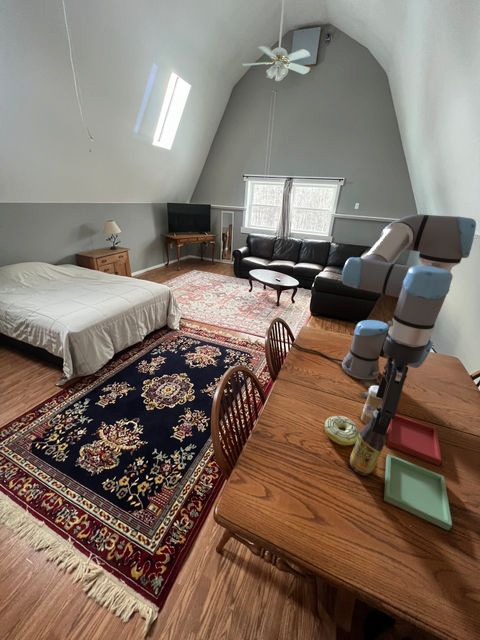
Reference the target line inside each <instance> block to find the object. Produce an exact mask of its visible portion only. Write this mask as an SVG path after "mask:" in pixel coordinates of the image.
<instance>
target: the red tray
mask: <svg viewBox="0 0 480 640" xmlns="http://www.w3.org/2000/svg"><path fill="white" fill-rule="evenodd" d="M439 442H440V441H439V436H438V430H437V427H434V426H431V425H428V424H426V423H423V422H419V421H417V420H414V419H410V418H408V417H405V416H402V415H399V414H396V413H395V418H394V419H391V421H390V424H389V426H388V429H387V432H386V446H389V447H391V448H393V449H396V450H399V451H401V452H403V453H406V454H409V455H411V456H414V457H416V458H419V459H421V460H424V461H426V462H428V463H432V464H433V465H436V466H440V464H441V462H442V454H441V449H440V448H441V447H440V443H439Z"/></svg>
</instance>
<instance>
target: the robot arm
mask: <svg viewBox="0 0 480 640" xmlns="http://www.w3.org/2000/svg"><path fill="white" fill-rule="evenodd" d="M476 228H477V221H476V220H475V219H474V218H472V217H464V216H459V215H457V216H455V215H436V214H435V215H434V214H423V213H422V214H421V213H418V214H410V215H406V216H403V217H400V218H398V219H396V220H394V221H392V222H390V223H389V224H387V226H385V227H384V229H383V230H382V231H381V233H380V235H379V239H378V240H377V241H376V242H375V243H374V245H373V246H372V247H371V248H370V250H368V252H366V254H365V255H364V256H363V257H349V258H347V260H346V262H345V264H344V266H343V268H342V273H341V283H342V284H343V285H344V286H347V287H351V288H354V289H355V290H356V289H359V290H363V291H366V292H367V291H368V292H372V293H378V294H381V295H386V296H390V297H395V298H398V300H397V303H396V307H395V310H394V313H393V316H392V320H388V321H387V323H385V322H384V321H381V320H377V319H366V320H365V319H364V320H361V321H359V322H358V323H357V324H356V325H355V329H354V331H353V335H352V341H351V345H350V349H349V352H348V353H347V354H346V356H345V357H344V358H343V359H339V358H334V357H331V356H328V355H326V354H325V353H322V352H320V351H318V350H315V349H310V348H305V347H301V346H300V345H298V344H297V343H295V342H292V343H290V345H291V346H293V345H294V346H296V348H298V349H300V350H303V351H308V352H312V353H316V354H319V355H321V356H323V357H325V358H326V359H329V360H331V361H336V362H340V363H341V369H342V371H343V372H344V373H345V374H346V375H347V376H349V377H350V378H353V379H356V380H359V381H362V380H364V379H372V380H373V381H375V380H376V381H377V378H378V379H379V376H380V361H379V359H380V358H383V359H386V362H385V364H384V366H383V372H382V376H381V379H380V381H381V382H380V381H379V382H380V385H379V388H378V391H377V394H376V397H378V398H381V399H383V400H382V402H381V406H380V408H377V409H376V410H377V411H378V413H377V416H376V419H375V422H374V425H373V428H372V431H373V432H375V433H378V434H381V435H383V436H385V435H387V433H388V426H389V424H390V421H391V419H394V418H395V414H396V413H397V409H398V406H399V402H400V399H401V395H402V391H403V387H404V385H405V382H406V380H407V378H408V377H407V376H408V372H409V367H411V368H414V369H418V368H420V367H421V366H422V365H423V364H424V362H425V361H426V360H427V357H428V355H429V354H430V352H431V350H432V348H433V345H434V342H433V341H432V340H431V336H432V334H433V331H434V329H435V325H436V321H437V319H438V317H439V314H440V312H441V310H442V307H443V304H444V302H445V300H446V297H447V295H448V294H449V292H450V288H451V283H452V281H453V277H454V276H453V274H452V269H453V268H454V267H455V266H458V265H459V264H460V263H461V261H462V259H467V258H469V256H470V254H471V250H472V247H473V243H474V239H475V235H476V234H475V233H476V230H477V229H476ZM403 251H411V252H412V251H413V252H419V254H418V259H419V261H420V262H421V264H420V265H413V266H410V265H403V264H398V263H396V261H398V258H399V256H400V255H401V253H402V252H403Z"/></svg>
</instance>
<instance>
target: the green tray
mask: <svg viewBox="0 0 480 640" xmlns="http://www.w3.org/2000/svg"><path fill="white" fill-rule="evenodd" d="M384 472H385V475H384V491H383V492H384V494H383V501H385V502H387V503H389V504H391V505H393V506H395V507H398V508H400V509H402V510H404V511H406V512H408V513H410V514H413V515H414V516H417V517H419V518H421V519H423V520H425V521H427V522H429V523H431V524H433V525H436V526H438V527H440V528H442V529H444V530H446V531H451V528H452V527H453V521H452V515H451V510H450V504H449V503H450V502H449V497H448V492H447V485H446V479H445V476H444V475H442V474H439V473H437V472H435V471H431V470H430V469H427V468H424V467H422V466H419V465H417V464H414V463H412V462H409V461H407V460H405V459H402V458H399V457H397V456H395V455H392V454H390V453H388V454H386V458H385V471H384Z"/></svg>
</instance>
